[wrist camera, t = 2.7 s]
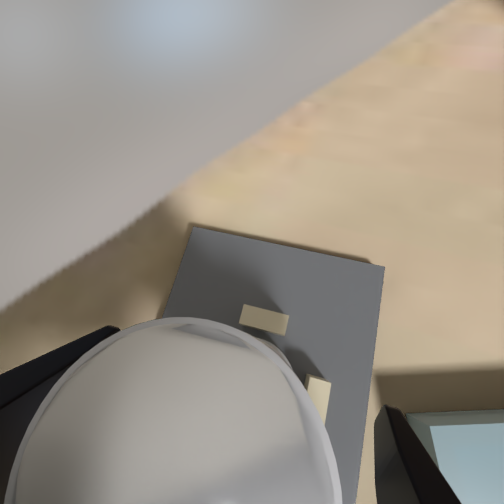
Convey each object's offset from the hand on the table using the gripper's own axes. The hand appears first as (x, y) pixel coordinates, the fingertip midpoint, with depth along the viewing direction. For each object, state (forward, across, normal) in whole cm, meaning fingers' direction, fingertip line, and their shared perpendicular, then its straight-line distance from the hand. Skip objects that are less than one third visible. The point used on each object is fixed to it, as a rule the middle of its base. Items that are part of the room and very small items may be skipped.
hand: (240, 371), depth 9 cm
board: (+4, 0, +6) cm, 8 cm away
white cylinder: (+4, 0, +5) cm, 7 cm away
